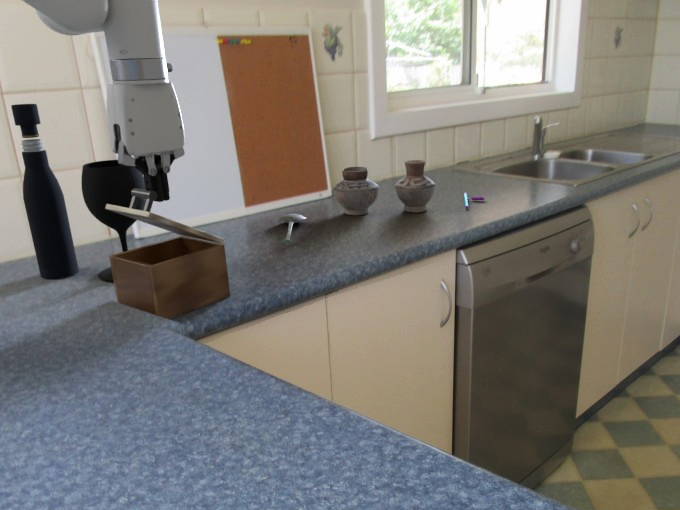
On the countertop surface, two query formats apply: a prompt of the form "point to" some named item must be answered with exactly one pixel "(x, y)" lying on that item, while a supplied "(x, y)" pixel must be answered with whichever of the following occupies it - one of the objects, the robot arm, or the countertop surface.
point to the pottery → (363, 192)
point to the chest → (171, 276)
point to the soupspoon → (290, 225)
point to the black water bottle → (44, 202)
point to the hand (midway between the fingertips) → (159, 199)
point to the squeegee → (472, 199)
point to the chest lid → (158, 217)
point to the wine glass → (111, 197)
